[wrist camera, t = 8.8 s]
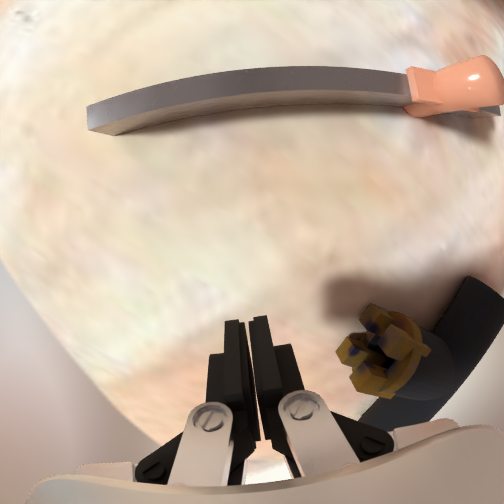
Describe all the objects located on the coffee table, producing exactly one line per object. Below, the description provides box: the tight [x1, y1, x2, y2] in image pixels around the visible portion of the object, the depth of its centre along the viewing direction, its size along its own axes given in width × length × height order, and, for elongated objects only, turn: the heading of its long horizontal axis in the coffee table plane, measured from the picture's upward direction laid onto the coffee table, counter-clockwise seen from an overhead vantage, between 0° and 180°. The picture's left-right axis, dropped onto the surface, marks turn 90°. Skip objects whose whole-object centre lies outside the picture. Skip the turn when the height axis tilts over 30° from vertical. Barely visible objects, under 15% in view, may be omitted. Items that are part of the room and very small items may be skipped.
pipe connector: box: [336, 276, 504, 432], centre depth 16 cm, size 12×5×15 cm
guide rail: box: [87, 55, 504, 136], centre depth 10 cm, size 2×24×7 cm, turn 97°
